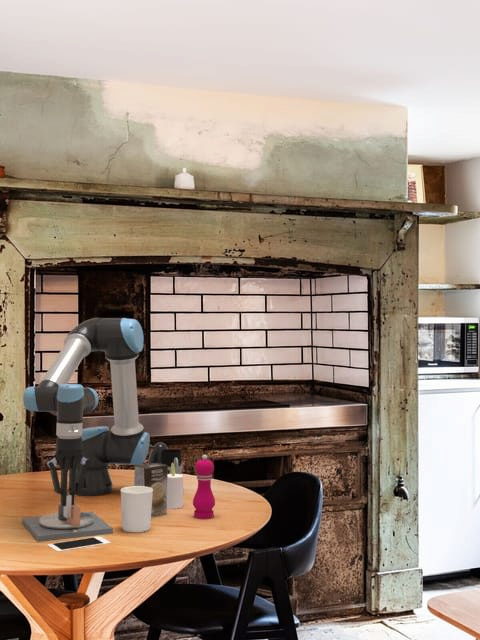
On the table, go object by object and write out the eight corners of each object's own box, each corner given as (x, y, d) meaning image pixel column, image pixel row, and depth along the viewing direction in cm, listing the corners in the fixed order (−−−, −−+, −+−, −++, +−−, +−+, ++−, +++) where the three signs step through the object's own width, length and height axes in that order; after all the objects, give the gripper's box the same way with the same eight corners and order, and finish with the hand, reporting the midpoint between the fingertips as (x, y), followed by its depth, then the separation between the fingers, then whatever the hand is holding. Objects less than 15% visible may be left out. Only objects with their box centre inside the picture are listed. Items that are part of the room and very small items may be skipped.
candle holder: (138, 535, 240) (139, 494, 240) (113, 529, 245) (113, 490, 245) (159, 528, 248) (159, 488, 248) (134, 523, 254) (134, 484, 253)
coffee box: (145, 518, 259) (145, 468, 259) (132, 514, 264) (133, 465, 264) (167, 514, 266) (168, 464, 265) (155, 510, 270) (155, 462, 270)
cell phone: (111, 544, 231) (111, 542, 231) (57, 553, 222) (57, 551, 222) (99, 538, 238) (99, 536, 238) (46, 546, 228) (46, 544, 228)
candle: (187, 506, 276) (187, 462, 276) (172, 509, 271) (173, 464, 271) (174, 503, 280) (175, 459, 280) (160, 506, 276) (161, 462, 275)
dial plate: (91, 516, 261) (91, 511, 261) (112, 533, 241) (112, 527, 241) (22, 522, 251) (22, 517, 251) (38, 541, 232) (38, 535, 232)
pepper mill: (218, 514, 266) (219, 453, 265) (210, 520, 259) (211, 457, 258) (197, 512, 268) (198, 452, 268) (189, 517, 261) (190, 455, 261)
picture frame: (179, 488, 304) (179, 448, 304) (188, 497, 291) (189, 455, 290) (156, 489, 301) (156, 449, 301) (164, 498, 288) (165, 455, 288)
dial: (33, 519, 250) (33, 498, 249) (84, 513, 257) (84, 494, 257) (49, 533, 234) (49, 512, 234) (103, 527, 241) (103, 506, 241)
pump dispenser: (149, 478, 322) (150, 439, 322) (175, 479, 320) (176, 440, 320) (143, 483, 312) (143, 443, 312) (169, 484, 310) (170, 445, 310)
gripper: (52, 439, 234) (49, 522, 234) (94, 437, 240) (92, 517, 240) (43, 436, 240) (41, 516, 240) (85, 433, 247) (83, 511, 247)
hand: (67, 516), depth 240 cm, fingers closed
